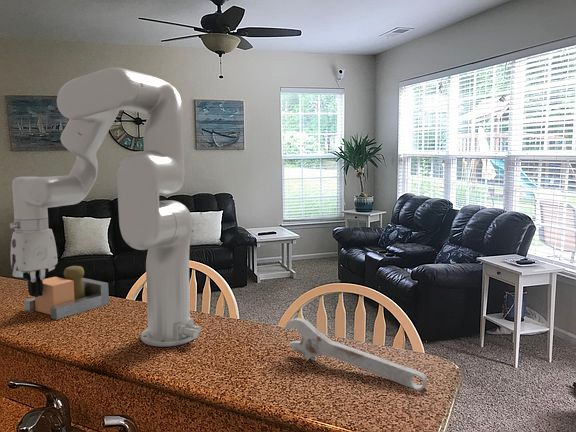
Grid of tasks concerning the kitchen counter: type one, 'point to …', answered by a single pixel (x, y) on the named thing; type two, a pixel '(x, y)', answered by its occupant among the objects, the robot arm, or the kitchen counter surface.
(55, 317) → the u-shaped metal bracket
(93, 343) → the kitchen counter surface
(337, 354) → the wrench
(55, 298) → the block
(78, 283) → the cork
